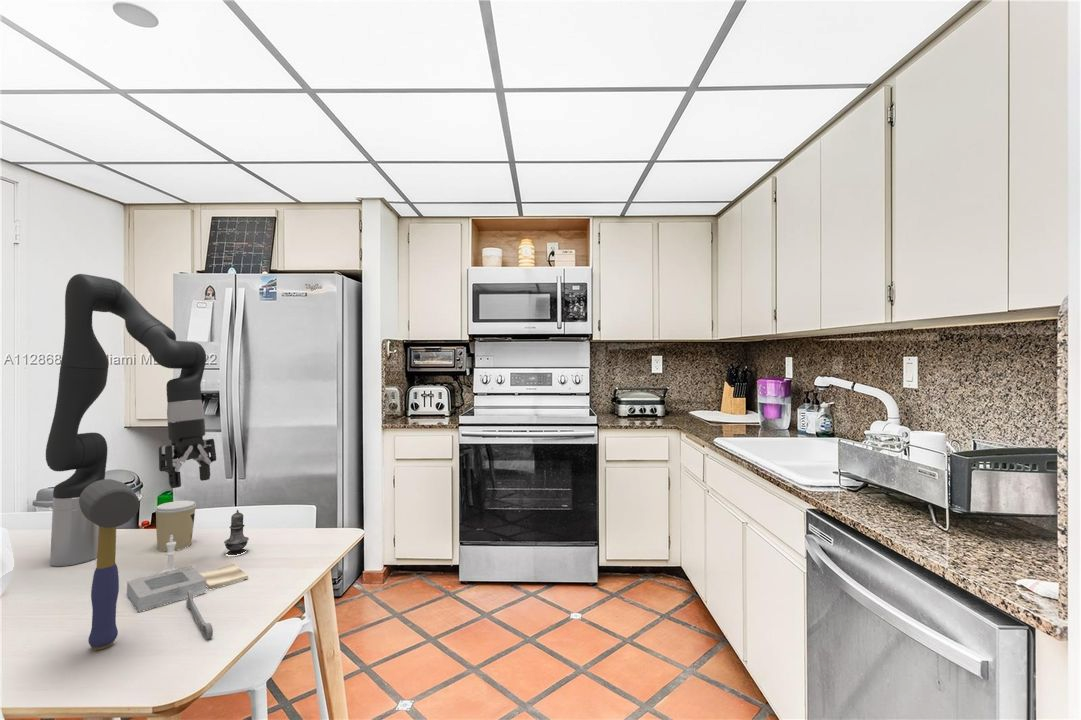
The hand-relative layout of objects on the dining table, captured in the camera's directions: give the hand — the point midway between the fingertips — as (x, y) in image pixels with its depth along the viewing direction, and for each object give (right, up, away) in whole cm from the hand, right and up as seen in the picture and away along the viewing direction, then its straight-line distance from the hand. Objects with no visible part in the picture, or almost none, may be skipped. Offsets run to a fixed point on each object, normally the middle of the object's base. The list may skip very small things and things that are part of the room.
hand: (190, 483), depth 121 cm
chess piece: (-4, -22, -2) cm, 23 cm away
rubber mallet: (+7, -22, -32) cm, 40 cm away
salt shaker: (+3, -23, +13) cm, 27 cm away
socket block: (+3, -22, -12) cm, 25 cm away
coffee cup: (-17, -23, +17) cm, 33 cm away
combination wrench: (+18, -23, -23) cm, 37 cm away
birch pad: (+10, -22, -3) cm, 25 cm away
